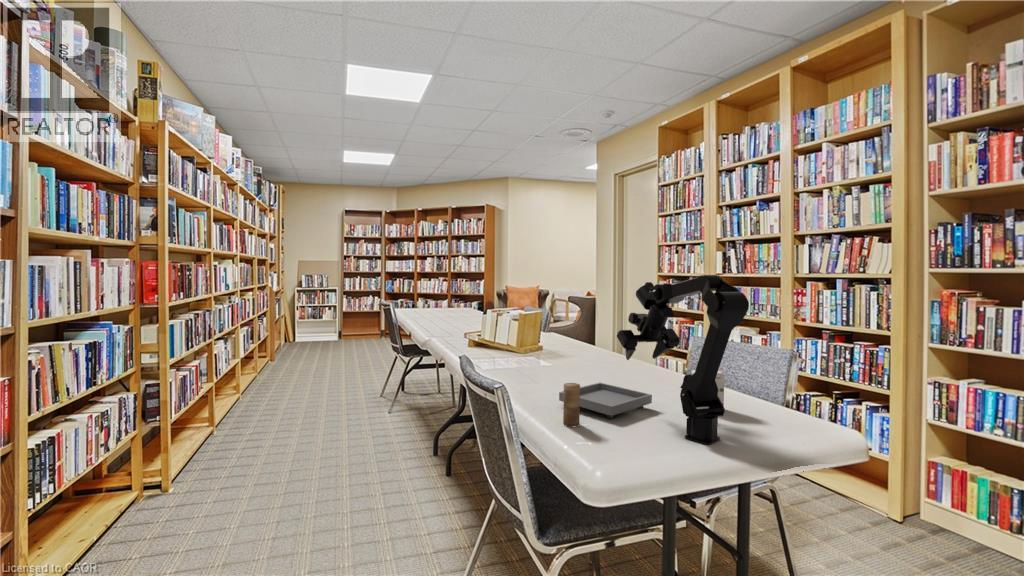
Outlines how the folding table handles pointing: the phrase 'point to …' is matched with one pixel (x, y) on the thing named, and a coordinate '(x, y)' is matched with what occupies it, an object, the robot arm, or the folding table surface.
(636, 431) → the folding table surface
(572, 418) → the walnut part
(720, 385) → the ink box
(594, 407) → the parts tray
